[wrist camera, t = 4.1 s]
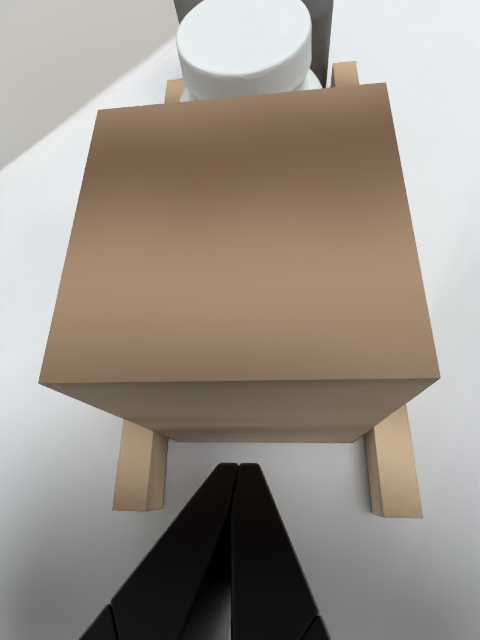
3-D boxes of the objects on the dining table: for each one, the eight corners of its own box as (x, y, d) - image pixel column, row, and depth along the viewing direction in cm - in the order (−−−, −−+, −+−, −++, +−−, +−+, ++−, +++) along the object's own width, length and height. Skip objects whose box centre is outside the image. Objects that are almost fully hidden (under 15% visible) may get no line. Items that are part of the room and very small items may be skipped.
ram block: (352, 442, 16) (440, 378, 6) (179, 441, 16) (38, 383, 7) (338, 285, 18) (386, 82, 9) (190, 291, 19) (97, 110, 10)
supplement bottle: (193, 213, 21) (124, 17, 12) (280, 168, 22) (274, -51, 13) (241, 290, 19) (198, 119, 10) (336, 239, 19) (374, 33, 11)
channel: (405, 514, 14) (668, 574, 4) (133, 507, 16) (-149, 542, 6) (349, 86, 23) (394, -218, 13) (177, 103, 25) (99, -165, 14)
